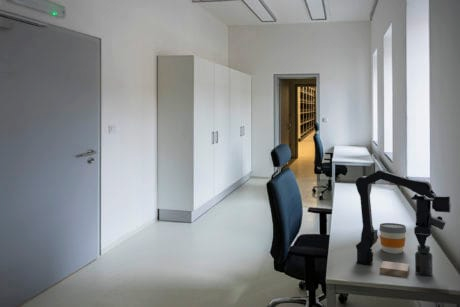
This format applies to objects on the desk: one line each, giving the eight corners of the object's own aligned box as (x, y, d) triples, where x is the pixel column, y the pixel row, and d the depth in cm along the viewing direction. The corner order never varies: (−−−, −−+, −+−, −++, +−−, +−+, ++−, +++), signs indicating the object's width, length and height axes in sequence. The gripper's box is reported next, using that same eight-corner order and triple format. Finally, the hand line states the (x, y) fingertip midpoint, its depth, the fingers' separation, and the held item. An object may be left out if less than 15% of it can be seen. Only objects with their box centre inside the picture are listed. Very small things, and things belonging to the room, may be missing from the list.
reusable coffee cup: (410, 258, 200) (410, 227, 199) (384, 258, 200) (384, 227, 199) (400, 251, 212) (400, 222, 212) (375, 251, 212) (375, 222, 212)
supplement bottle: (427, 271, 179) (427, 244, 179) (435, 276, 172) (436, 248, 172) (412, 271, 179) (412, 244, 179) (419, 276, 172) (420, 248, 172)
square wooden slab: (379, 274, 177) (379, 267, 177) (382, 267, 187) (382, 261, 187) (407, 278, 172) (407, 270, 172) (409, 270, 182) (409, 264, 182)
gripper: (444, 215, 164) (444, 254, 164) (444, 208, 181) (443, 244, 181) (414, 213, 169) (413, 250, 169) (416, 207, 186) (416, 241, 186)
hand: (422, 246), depth 176 cm, fingers open, 9 cm apart
